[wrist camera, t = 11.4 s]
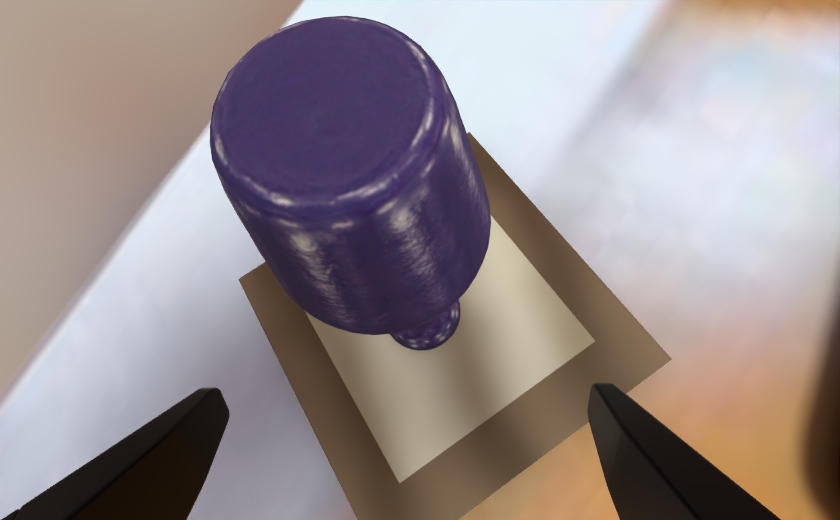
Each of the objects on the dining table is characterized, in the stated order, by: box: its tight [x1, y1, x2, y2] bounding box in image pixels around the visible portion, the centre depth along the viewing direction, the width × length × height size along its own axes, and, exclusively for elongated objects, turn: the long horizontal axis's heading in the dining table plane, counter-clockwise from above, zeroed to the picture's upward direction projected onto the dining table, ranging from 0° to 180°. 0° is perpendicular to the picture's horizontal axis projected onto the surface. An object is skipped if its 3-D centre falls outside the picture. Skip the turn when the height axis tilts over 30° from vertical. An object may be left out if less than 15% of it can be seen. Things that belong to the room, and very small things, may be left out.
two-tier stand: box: [239, 132, 671, 520], centre depth 21 cm, size 18×18×2 cm
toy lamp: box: [210, 16, 491, 351], centre depth 12 cm, size 5×5×17 cm
